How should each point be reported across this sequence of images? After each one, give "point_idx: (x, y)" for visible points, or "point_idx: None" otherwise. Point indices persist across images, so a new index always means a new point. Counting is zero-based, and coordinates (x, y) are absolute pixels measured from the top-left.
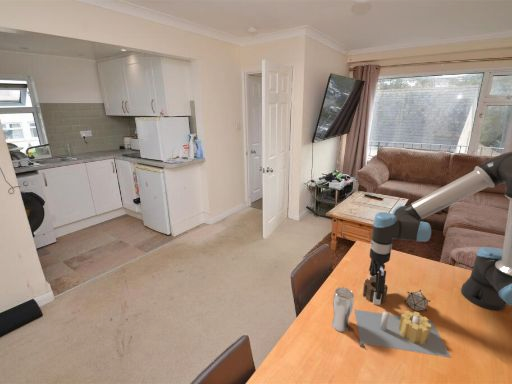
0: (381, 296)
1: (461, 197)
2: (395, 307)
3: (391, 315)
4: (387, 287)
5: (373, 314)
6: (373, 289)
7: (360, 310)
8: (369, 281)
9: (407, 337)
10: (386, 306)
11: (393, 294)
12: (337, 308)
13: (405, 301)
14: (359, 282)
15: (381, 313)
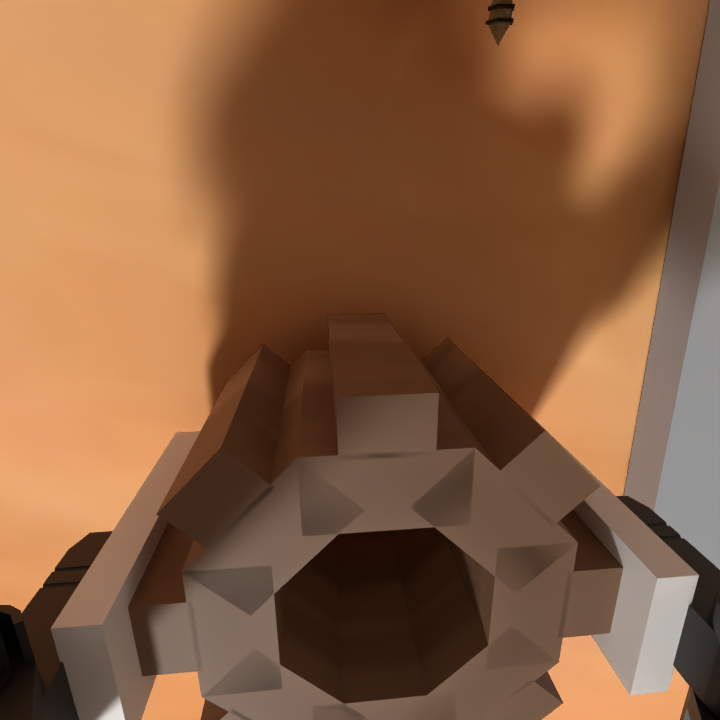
0: (616, 497)
1: None
2: (471, 191)
3: (705, 313)
4: (435, 393)
5: (688, 509)
6: (547, 667)
7: None
8: (286, 712)
9: None
10: (469, 309)
11: (174, 137)
12: None
13: (510, 2)
14: (52, 565)
15: (672, 424)
